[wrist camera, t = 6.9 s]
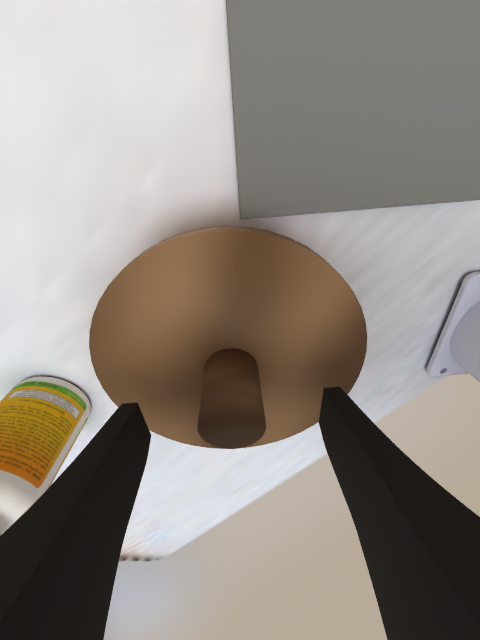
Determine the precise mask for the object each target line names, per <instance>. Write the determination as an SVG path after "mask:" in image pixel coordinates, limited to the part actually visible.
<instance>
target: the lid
mask: <svg viewBox="0 0 480 640" xmlns="http://www.w3.org/2000/svg"><path fill="white" fill-rule="evenodd" d="M366 347H367V332H366V323H365V319H364V315H363V312H362V309H361V306H360V304H359V302H358V300H357V298H356V296H355V294H354V292H353V291H352V289H351V288H350V287H349V285H348V284H347V283H346V281H345V280H344V279H343V277H342V276H341V275H340V274H339V273H338V272H337V271H336V270H335V269H334V268H333V267H331V266H330V265H329V264H328V263H327V262H326V261H325V260H324V259H323V258H322V257H321V256H319V255H318V254H316V253H315V252H314V251H312V250H311V249H309V248H308V247H306V246H304V245H302V244H300V243H298V242H296V241H294V240H292V239H290V238H288V237H285V236H282V235H279V234H276V233H273V232H270V231H266V230H260V229H255V228H249V227H231V226H222V227H212V228H202V229H198V230H194V231H190V232H186V233H181V234H179V235H176V236H174V237H171V238H169V239H166V240H164V241H161V242H160V243H158V244H156V245H154V246H153V247H151V248H149V249H147V250H146V251H144V252H143V253H142V254H140V255H139V256H138V257H137V258H135V259H134V260H133V261H132V262H130V263H129V264H128V265H127V266H126V267H125V268H124V269H123V270H122V271H121V272H120V273H119V274H118V275H117V277H116V278H115V279H114V280H113V281H112V282H111V283H110V284H109V286H108V287H107V289H106V290H105V292H104V294H103V295H102V297H101V298H100V300H99V302H98V305H97V307H96V310H95V312H94V315H93V318H92V323H91V328H90V341H89V348H90V354H91V360H92V364H93V367H94V370H95V373H96V376H97V378H98V380H99V381H100V383H101V385H102V387H103V389H104V390H105V392H106V393H107V394H108V396H109V397H110V399H111V400H112V401H113V402H114V403H115V404H116V405H117V406H118V407H120V405H121V404H124V403H137V402H138V404H139V407H140V409H141V412H142V414H143V417H144V419H145V421H146V424H147V426H148V429H149V430H151V431H152V432H154V433H156V434H159V435H161V436H164V437H166V438H169V439H172V440H175V441H178V442H181V443H185V444H190V445H194V446H200V447H207V448H221V449H236V448H246V447H253V446H259V445H264V444H268V443H272V442H276V441H279V440H282V439H285V438H288V437H290V436H293V435H295V434H297V433H300V432H302V431H304V430H305V429H307V428H309V427H311V426H313V425H314V424H316V423H317V422H319V417H320V410H321V403H322V396H323V389H324V388H327V387H341V388H342V389H343V390H344V392H345V393H346V394H348V393H349V392H350V390H351V389H352V387H353V385H354V384H355V382H356V380H357V378H358V376H359V374H360V371H361V369H362V366H363V363H364V359H365V354H366Z"/></svg>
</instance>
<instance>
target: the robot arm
mask: <svg viewBox="0 0 480 640" xmlns="http://www.w3.org/2000/svg"><path fill="white" fill-rule="evenodd" d="M426 371H427V373H428V374H429V375H431V376H442V375H455V374H467V373H470V374H471V375H472V376H473V377H475V378H476V379H477V380H478V381H479V382H480V272H473V273H470V274H469V275H467V276H466V277H465V278H464V280H463V282H462V285H461V287H460V290H459V292H458V294H457V297H456V299H455V302H454V304H453V306H452V309H451V311H450V314H449V316H448V318H447V321H446V323H445V326H444V328H443V331H442V333H441V335H440V338H439V340H438V343H437V345H436V347H435V350H434V352H433V355H432V357H431V359H430V362H429V364H428V367H427V370H426ZM319 425H320V429H321V432H322V436H323V440H324V444H325V447H326V450H327V453H328V456H329V458H330V461H331V463H332V466H333V469H334V471H335V474H336V476H337V479H338V482H339V484H340V487H341V489H342V492H343V495H344V497H345V500H346V502H347V505H348V507H349V510H350V512H351V515H352V518H353V521H354V524H355V527H356V530H357V533H358V536H359V540H360V543H361V546H362V550H363V553H364V557H365V560H366V563H367V567H368V570H369V574H370V577H371V581H372V584H373V588H374V591H375V595H376V598H377V602H378V606H379V609H380V613H381V617H382V621H383V624H384V628H385V632H386V635H387V639H388V640H480V517H479V516H478V515H476V514H475V513H474V512H472V511H471V510H470V509H469V508H467V507H466V506H465V505H464V504H462V503H461V502H460V501H459V500H457V499H456V498H455V497H454V496H453V495H451V494H450V493H449V492H447V491H446V490H445V489H444V488H443V487H442V486H440V485H439V484H438V483H437V482H436V481H434V480H433V479H432V478H431V477H430V476H429V475H428V474H426V473H425V472H424V471H423V470H422V469H421V468H420V467H419V466H417V465H416V464H415V463H414V462H413V461H412V460H411V459H410V458H409V457H408V456H407V455H405V454H404V453H403V452H402V451H401V450H400V449H399V448H398V447H397V446H396V445H395V444H394V443H393V442H392V441H391V440H390V439H389V438H388V437H387V436H386V435H385V434H384V433H383V432H382V431H381V430H380V429H379V428H378V427H377V426H376V425H375V424H374V423H373V422H372V421H371V420H370V419H369V418H368V417H367V416H366V415H365V413H364V412H363V411H362V410H361V409H360V408H359V407H358V406H357V405H356V404H355V403H354V402H353V400H352V399H351V398H350V397H349V396H348V395H347V394H346V393H345V392H344V390H343V389H342V388H341V387H327V388H324V389H323V396H322V403H321V410H320V417H319ZM150 439H151V434H150V431H149V429H148V426H147V424H146V421H145V419H144V417H143V414H142V412H141V409H140V407H139V404H138V402H137V403H124V404H121V405H120V407H119V408H118V409H117V410H116V411H115V413H114V414H113V415H112V416H111V417H110V419H109V420H108V421H107V422H106V423H105V425H104V426H103V427H102V428H101V429H100V431H99V432H98V433H97V434H96V435H95V437H94V438H93V439H92V440H91V441H90V442H89V444H88V445H87V446H86V447H85V448H84V449H83V451H82V452H81V453H80V454H79V455H78V456H77V458H76V459H75V460H74V461H73V462H72V463H71V464H70V465H69V467H68V468H67V469H66V470H65V471H64V472H63V473H62V474H61V475H60V476H59V477H58V478H57V480H56V481H55V482H54V483H53V484H52V485H51V486H50V487H49V488H48V489H47V490H46V491H45V492H44V493H43V494H42V496H41V497H40V498H39V499H38V500H37V501H36V502H35V503H34V504H33V505H32V506H31V507H30V508H29V509H28V510H27V511H26V512H25V513H24V514H23V515H22V516H21V517H20V518H18V519H17V520H16V521H15V522H14V523H13V524H12V525H11V526H10V527H9V528H8V529H7V530H6V531H5V532H4V533H3V534H2V535H1V536H0V640H103V638H104V632H105V627H106V621H107V616H108V611H109V606H110V601H111V595H112V590H113V585H114V581H115V576H116V571H117V567H118V562H119V557H120V553H121V548H122V544H123V540H124V536H125V533H126V529H127V526H128V522H129V519H130V516H131V512H132V509H133V506H134V502H135V499H136V496H137V492H138V489H139V486H140V482H141V479H142V476H143V472H144V469H145V465H146V461H147V456H148V451H149V445H150Z"/></svg>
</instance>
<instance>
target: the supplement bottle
mask: <svg viewBox="0 0 480 640" xmlns="http://www.w3.org/2000/svg"><path fill="white" fill-rule="evenodd" d="M90 411H91V406H90V402H89V400H88V398H87V397H86V395H85V394H84V393H83V392H82V391H81V390H80V389H78V388H77V387H76V386H74V385H72V384H71V383H69V382H66V381H64V380H61V379H57V378H53V377H32V378H28V379H26V380H23V381H21V382H20V383H18V384H17V385H16V386H15V387H14V388H13V389H12V390H11V391H10V392H9V393H8V394H7V395H6V396H5V397H4V398H3V399H2V401H1V402H0V536H1V534H2V533H3V532H5V531H6V530H7V529H8V528H9V527H10V526H11V525H12V524H13V523H14V522H15V521H16V520H17V519H18V518H20V517H21V516H22V515H23V514H24V513H25V512H26V511H27V510H28V509H29V508H30V507H31V506H32V505H33V504H34V503H35V502H36V501H37V500H38V499H39V498H40V497H41V496H42V494H43V493H44V492H45V491H46V490H47V489H48V488H49V487H50V485H51V484H52V482H53V480H54V478H55V476H56V475H57V473H58V471H59V469H60V468H61V466H62V464H63V462H64V460H65V459H66V457H67V455H68V453H69V451H70V450H71V448H72V446H73V444H74V442H75V441H76V439H77V437H78V435H79V434H80V432H81V430H82V428H83V426H84V425H85V423H86V421H87V419H88V417H89V414H90Z"/></svg>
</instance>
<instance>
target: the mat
mask: <svg viewBox="0 0 480 640" xmlns="http://www.w3.org/2000/svg"><path fill="white" fill-rule="evenodd" d="M226 7H227V22H228V37H229V52H230V68H231V83H232V98H233V113H234V129H235V144H236V159H237V174H238V189H239V205H240V218H241V219H251V218H264V217H276V216H288V215H300V214H313V213H325V212H337V211H349V210H362V209H374V208H386V207H398V206H411V205H423V204H435V203H447V202H460V201H472V200H480V0H226Z"/></svg>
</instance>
